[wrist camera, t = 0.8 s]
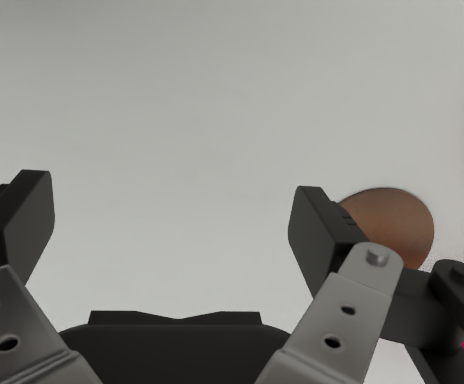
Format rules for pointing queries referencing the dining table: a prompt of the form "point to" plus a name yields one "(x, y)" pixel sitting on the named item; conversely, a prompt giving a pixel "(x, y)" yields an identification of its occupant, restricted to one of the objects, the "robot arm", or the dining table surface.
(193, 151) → the dining table surface
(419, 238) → the cork coaster
